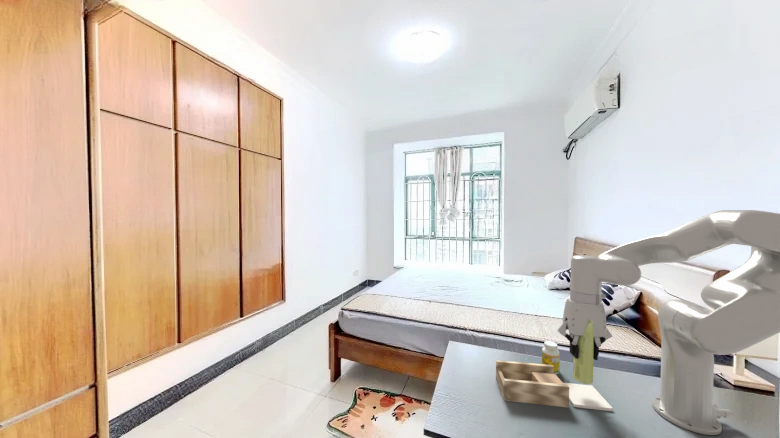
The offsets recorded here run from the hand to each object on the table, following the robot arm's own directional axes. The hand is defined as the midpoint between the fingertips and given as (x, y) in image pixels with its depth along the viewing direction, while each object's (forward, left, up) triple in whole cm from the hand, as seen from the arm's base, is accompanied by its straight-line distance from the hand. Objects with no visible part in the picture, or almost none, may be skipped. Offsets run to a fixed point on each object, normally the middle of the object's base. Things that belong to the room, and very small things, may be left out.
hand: (583, 356), depth 80 cm
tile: (0, 0, -13) cm, 13 cm away
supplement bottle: (+4, -13, -13) cm, 19 cm away
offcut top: (+10, 0, -11) cm, 14 cm away
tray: (+15, 0, -13) cm, 20 cm away
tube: (0, 0, -8) cm, 8 cm away
